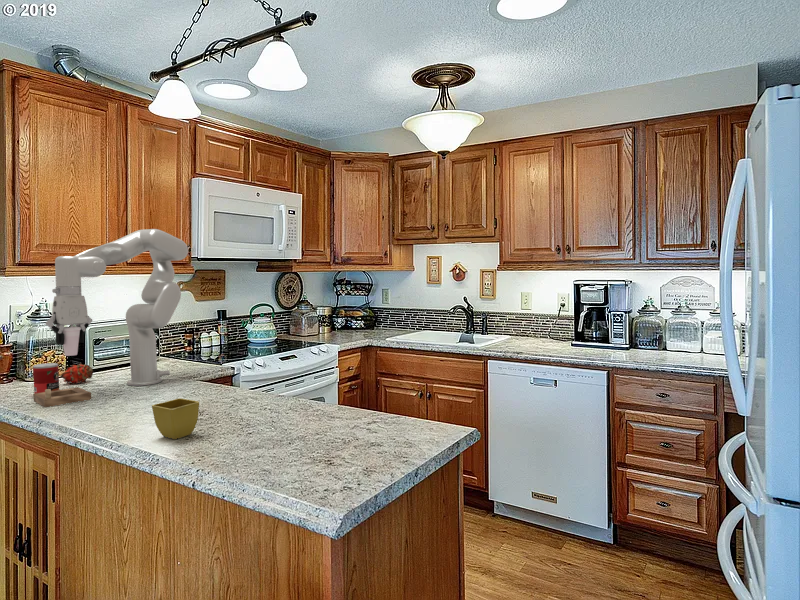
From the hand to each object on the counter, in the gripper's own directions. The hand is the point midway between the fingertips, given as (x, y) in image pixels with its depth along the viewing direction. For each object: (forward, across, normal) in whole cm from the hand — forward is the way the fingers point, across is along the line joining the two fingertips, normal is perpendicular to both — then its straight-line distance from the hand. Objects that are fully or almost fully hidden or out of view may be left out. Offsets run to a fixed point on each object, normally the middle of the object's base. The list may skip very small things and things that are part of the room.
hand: (70, 343), depth 189 cm
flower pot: (+21, -13, -68) cm, 73 cm away
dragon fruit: (+20, +19, +27) cm, 39 cm away
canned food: (+20, +2, +18) cm, 27 cm away
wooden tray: (+20, -2, +3) cm, 20 cm away
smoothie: (+4, 0, 0) cm, 4 cm away
